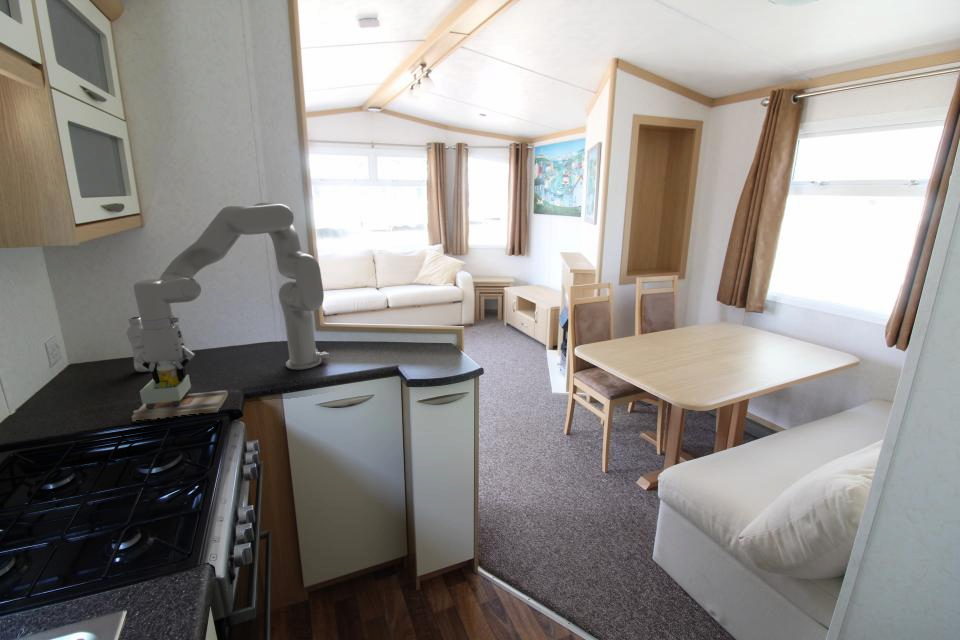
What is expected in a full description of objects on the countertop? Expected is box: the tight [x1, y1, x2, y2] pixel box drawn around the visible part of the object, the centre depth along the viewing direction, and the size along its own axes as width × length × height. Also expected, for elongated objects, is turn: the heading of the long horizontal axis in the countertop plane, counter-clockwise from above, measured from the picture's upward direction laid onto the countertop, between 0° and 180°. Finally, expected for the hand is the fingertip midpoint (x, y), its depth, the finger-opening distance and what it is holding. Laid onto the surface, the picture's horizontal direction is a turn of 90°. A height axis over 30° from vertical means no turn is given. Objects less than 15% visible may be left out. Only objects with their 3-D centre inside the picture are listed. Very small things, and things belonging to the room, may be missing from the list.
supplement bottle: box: [157, 361, 180, 389], centre depth 135 cm, size 5×5×10 cm
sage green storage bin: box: [139, 374, 192, 409], centre depth 136 cm, size 10×10×6 cm
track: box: [131, 389, 229, 422], centre depth 138 cm, size 22×12×2 cm, turn 105°
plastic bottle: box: [126, 316, 150, 373], centre depth 163 cm, size 6×7×20 cm
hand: (170, 380), depth 136 cm, fingers closed on supplement bottle, 5 cm apart
